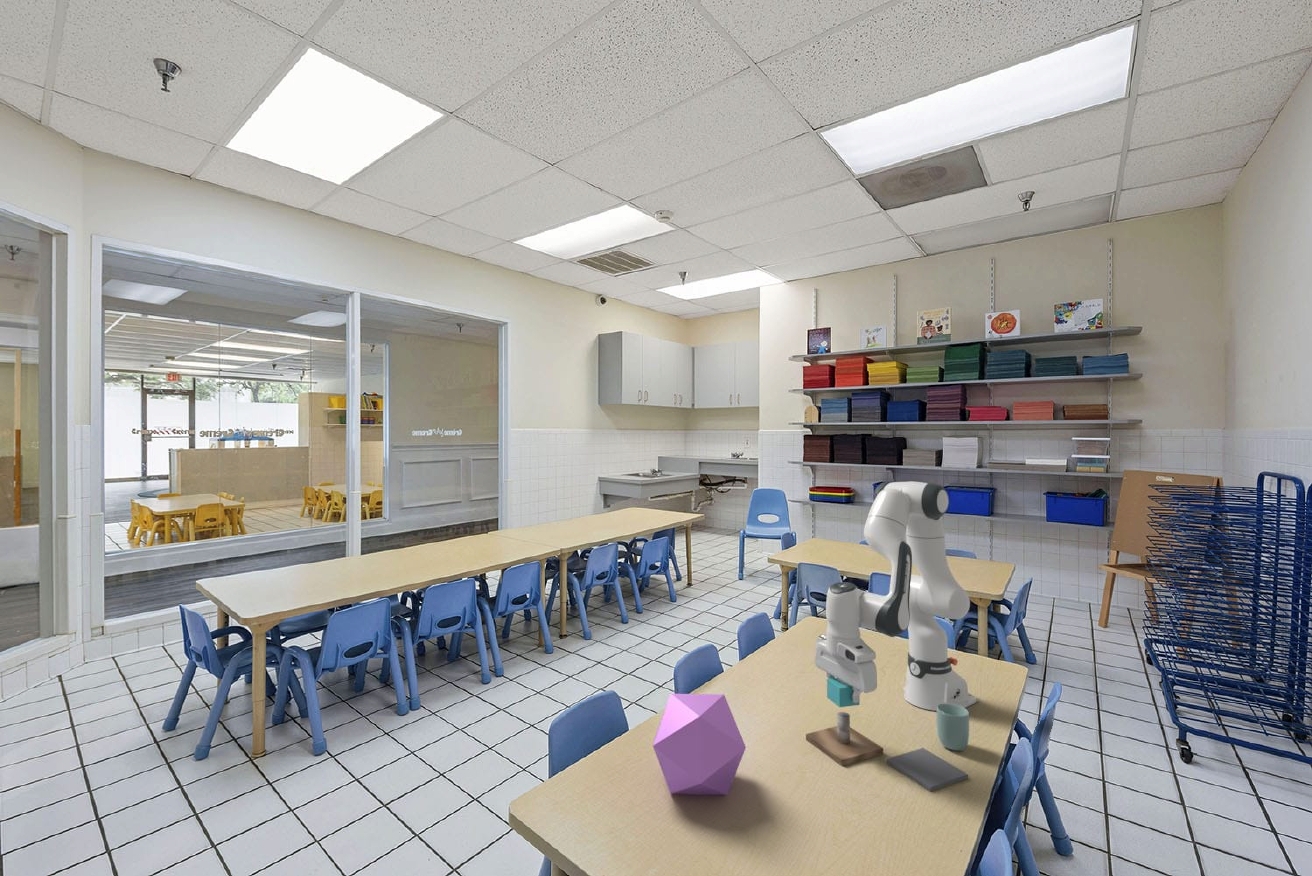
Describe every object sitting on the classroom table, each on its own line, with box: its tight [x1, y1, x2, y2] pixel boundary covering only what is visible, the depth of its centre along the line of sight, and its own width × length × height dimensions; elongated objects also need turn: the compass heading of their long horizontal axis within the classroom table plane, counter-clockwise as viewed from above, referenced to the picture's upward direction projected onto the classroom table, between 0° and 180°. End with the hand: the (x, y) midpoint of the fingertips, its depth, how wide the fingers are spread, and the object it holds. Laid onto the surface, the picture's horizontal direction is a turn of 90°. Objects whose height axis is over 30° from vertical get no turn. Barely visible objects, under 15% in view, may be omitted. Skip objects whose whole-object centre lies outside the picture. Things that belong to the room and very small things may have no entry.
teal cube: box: [826, 677, 860, 708], centre depth 150 cm, size 6×6×5 cm
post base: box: [805, 711, 884, 767], centre depth 150 cm, size 14×14×8 cm
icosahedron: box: [652, 693, 747, 796], centre depth 133 cm, size 22×21×25 cm
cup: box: [936, 703, 970, 752], centre depth 150 cm, size 8×8×10 cm
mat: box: [886, 747, 969, 792], centre depth 139 cm, size 13×13×1 cm
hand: (844, 695), depth 150 cm, fingers closed on teal cube, 6 cm apart
